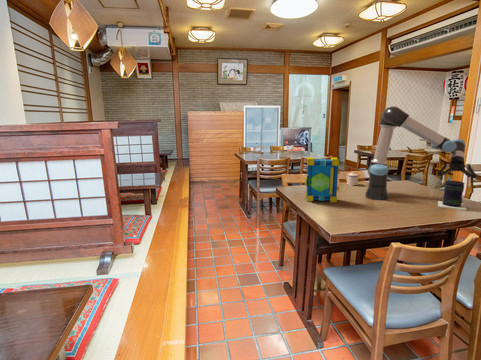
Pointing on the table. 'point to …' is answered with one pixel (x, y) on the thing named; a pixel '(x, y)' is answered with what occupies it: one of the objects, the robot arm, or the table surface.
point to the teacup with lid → (352, 179)
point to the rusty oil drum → (453, 193)
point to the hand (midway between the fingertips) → (455, 185)
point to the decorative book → (322, 179)
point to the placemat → (451, 207)
